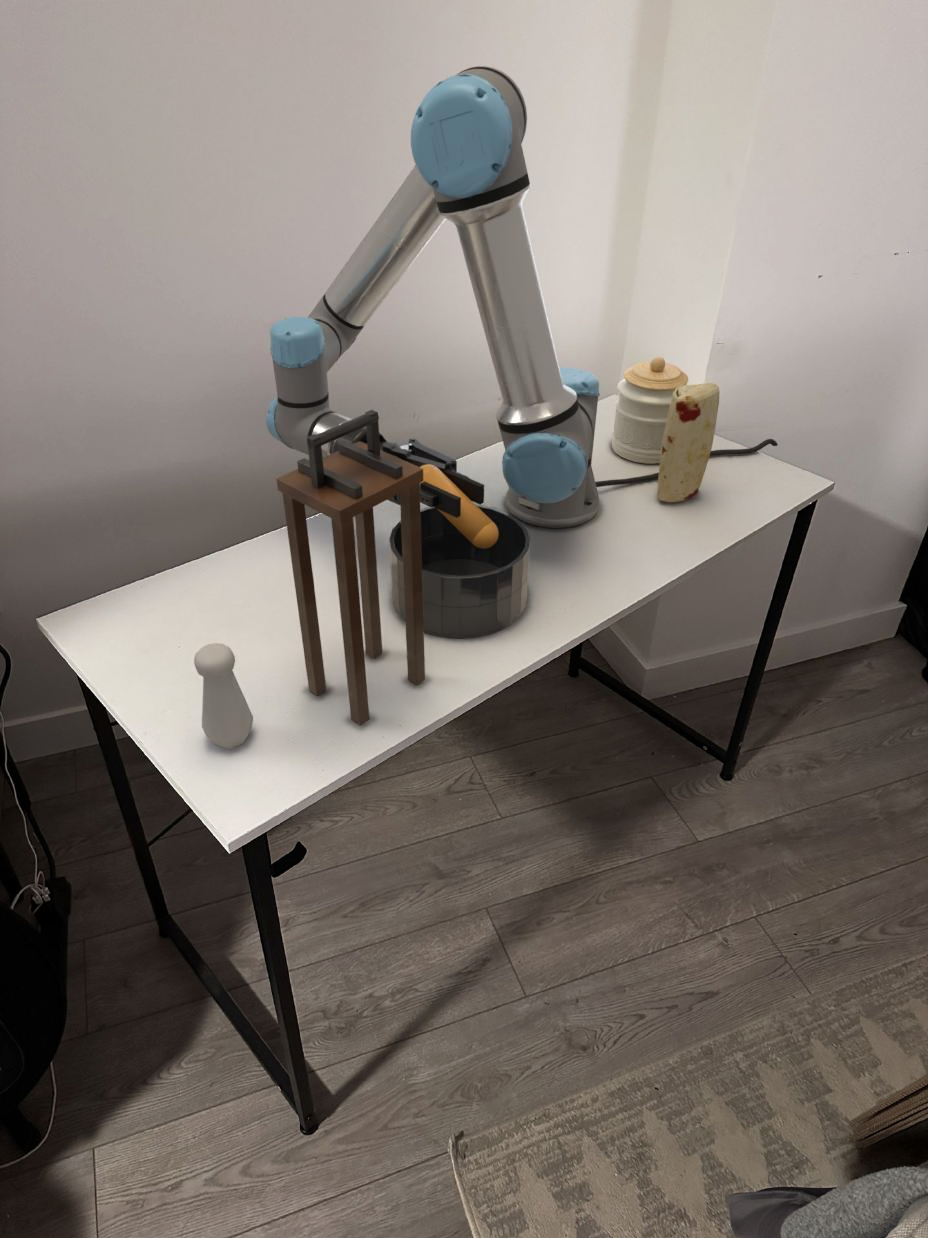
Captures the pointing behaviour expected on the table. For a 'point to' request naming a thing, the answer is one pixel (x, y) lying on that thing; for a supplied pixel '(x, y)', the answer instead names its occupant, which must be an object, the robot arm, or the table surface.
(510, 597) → the pot
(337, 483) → the shelf stand
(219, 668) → the salt shaker
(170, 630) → the table surface
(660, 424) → the jar
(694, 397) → the food model
